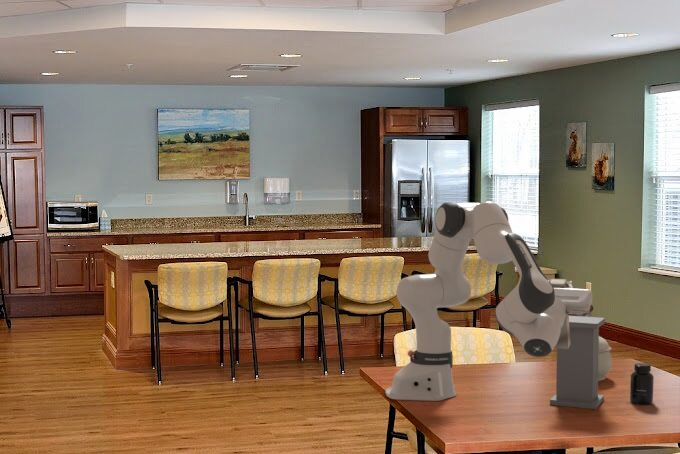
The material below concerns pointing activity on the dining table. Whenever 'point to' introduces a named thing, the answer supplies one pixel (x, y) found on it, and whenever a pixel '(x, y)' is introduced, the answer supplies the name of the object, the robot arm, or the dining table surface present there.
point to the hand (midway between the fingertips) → (559, 282)
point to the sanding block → (565, 331)
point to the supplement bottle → (641, 385)
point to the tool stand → (579, 365)
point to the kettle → (602, 354)
